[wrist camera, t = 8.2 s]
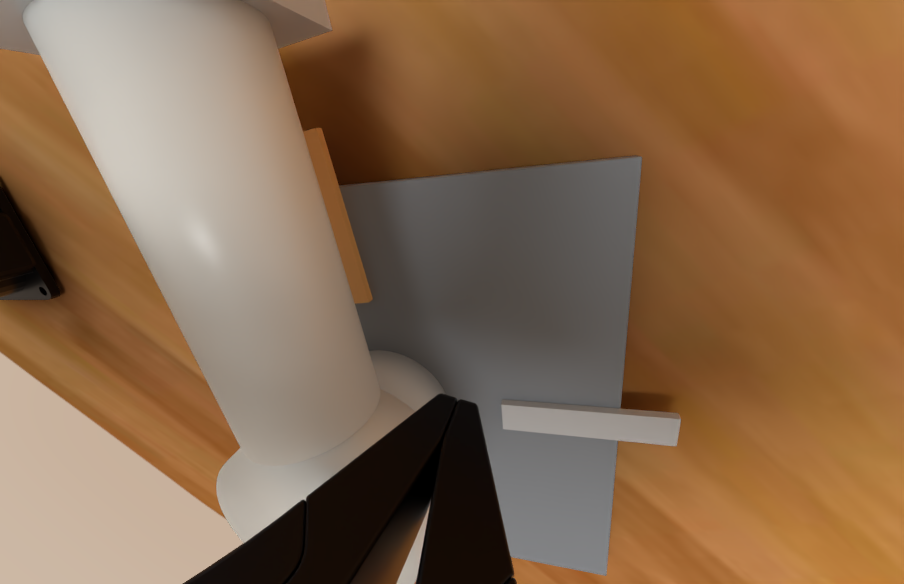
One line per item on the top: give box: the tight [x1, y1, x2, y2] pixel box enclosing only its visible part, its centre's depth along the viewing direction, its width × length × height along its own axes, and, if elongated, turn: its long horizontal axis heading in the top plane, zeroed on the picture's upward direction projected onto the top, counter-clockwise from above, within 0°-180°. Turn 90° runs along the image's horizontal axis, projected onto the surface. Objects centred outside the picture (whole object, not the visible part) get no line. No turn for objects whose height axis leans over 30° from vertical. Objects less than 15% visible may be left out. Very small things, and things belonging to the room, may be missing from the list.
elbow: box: [0, 0, 430, 584], centre depth 10 cm, size 17×6×5 cm, turn 10°
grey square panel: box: [303, 128, 681, 576], centre depth 14 cm, size 20×20×3 cm
